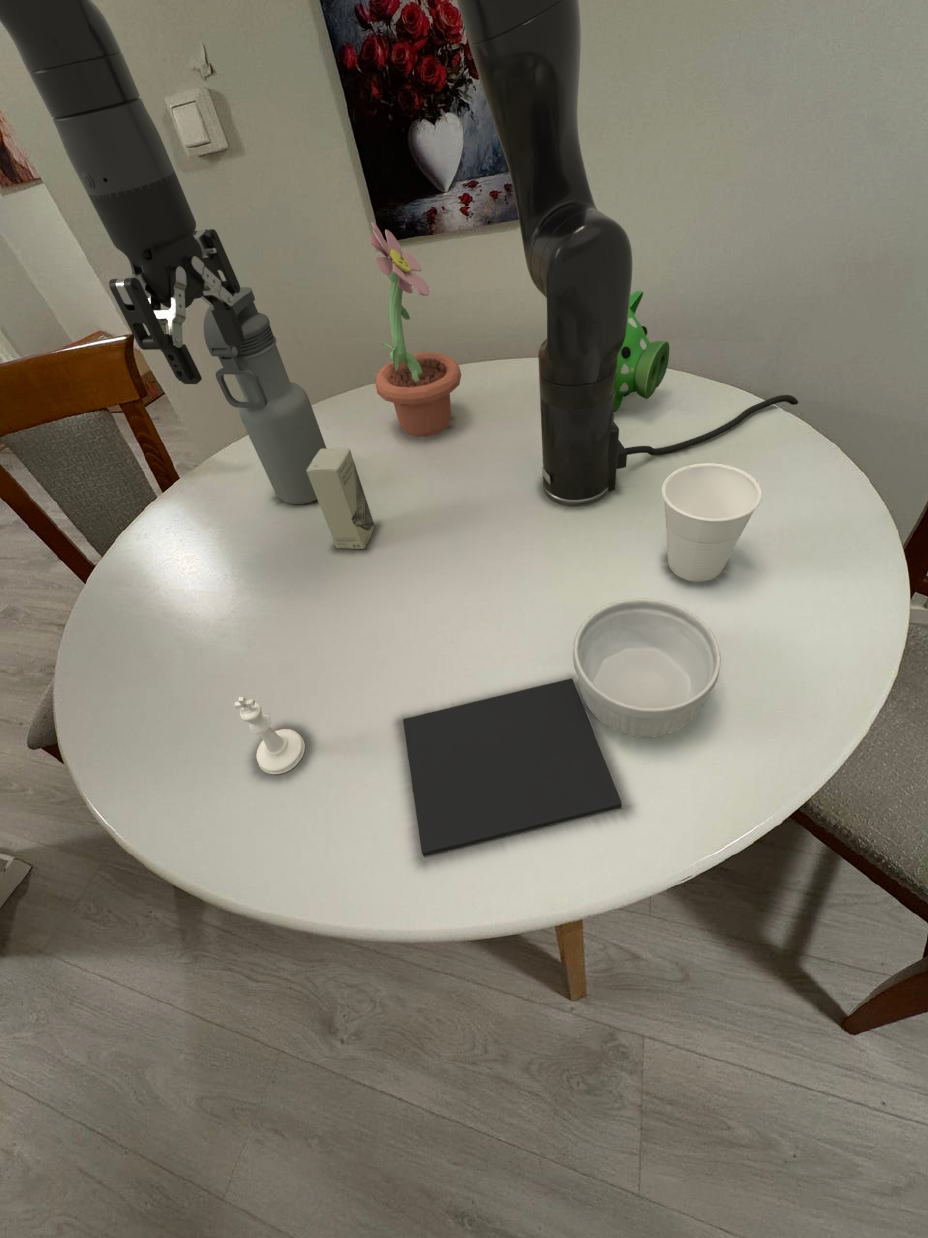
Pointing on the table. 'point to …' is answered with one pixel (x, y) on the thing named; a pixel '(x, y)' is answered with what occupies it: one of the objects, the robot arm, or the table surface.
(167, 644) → the table surface
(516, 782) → the mat
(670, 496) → the cup
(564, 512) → the table surface
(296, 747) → the chess piece
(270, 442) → the water bottle
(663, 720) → the ramekin
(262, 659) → the table surface
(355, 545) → the box
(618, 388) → the piggy bank
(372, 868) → the table surface
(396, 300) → the decorative flower
